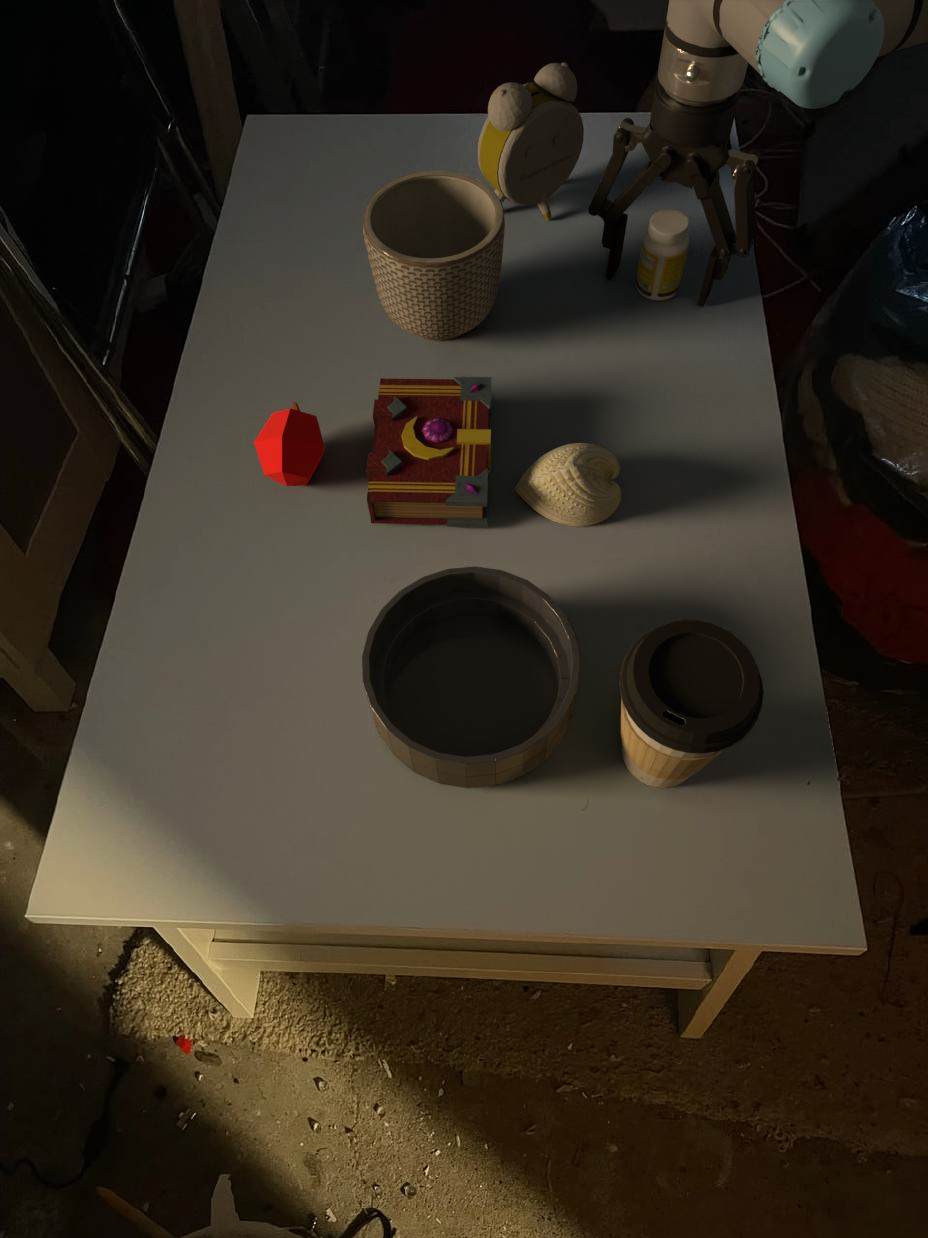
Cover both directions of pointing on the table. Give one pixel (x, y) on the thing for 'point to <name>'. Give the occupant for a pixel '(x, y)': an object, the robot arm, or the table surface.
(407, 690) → the bowl
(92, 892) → the table surface
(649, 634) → the coffee cup
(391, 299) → the planter
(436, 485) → the decorative book
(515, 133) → the alarm clock
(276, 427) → the apple
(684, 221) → the supplement bottle
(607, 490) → the seashell
